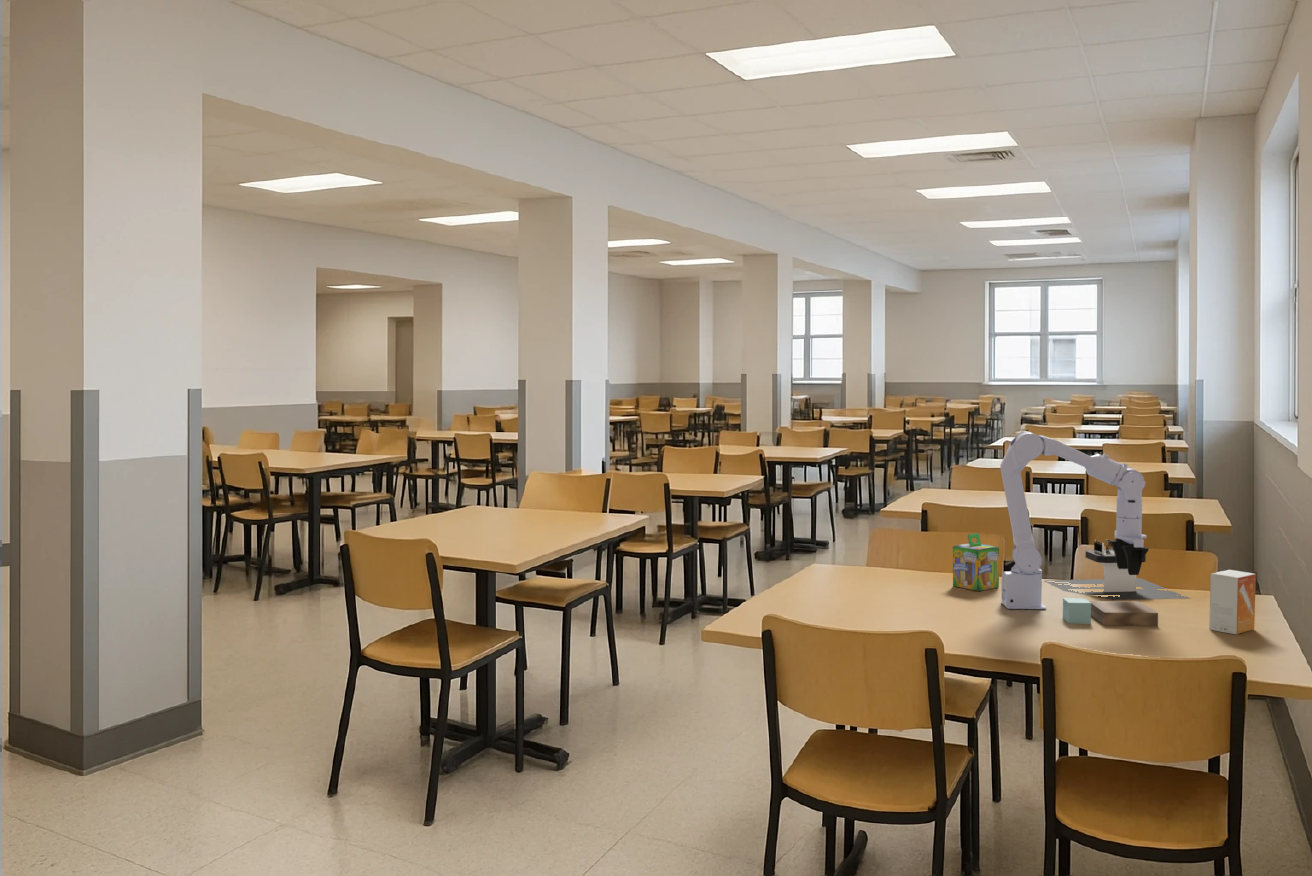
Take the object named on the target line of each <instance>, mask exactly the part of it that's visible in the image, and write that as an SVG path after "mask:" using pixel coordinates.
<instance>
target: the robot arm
mask: <svg viewBox="0 0 1312 876" xmlns="http://www.w3.org/2000/svg"><path fill="white" fill-rule="evenodd" d="M1040 455H1042V456H1048V457H1049V456H1057V457H1060V458H1061V459H1064V460H1067V461H1069V462H1072V463H1074V464H1077V465H1078V466H1081V467H1084V468H1085V472H1086V474H1087V475H1088V476H1090V477H1092V478H1095V479H1097V480H1100V481H1102V482H1104V483H1106V484H1108V485H1111V486H1116V488H1117V491H1116V493H1117V497H1116V514H1115V515H1116V518H1115V519H1116V520H1115V521H1116V522H1115V527H1116V528H1115V530H1114V535H1113V536H1114V539H1109V540H1110V541H1109V542H1110V547H1111V546H1112V547H1111V549H1113V550H1114V553H1115V557H1116V562H1117V566H1118V569H1127V568H1128V573H1129V575H1136V576H1139V575H1140V571H1141V569H1142V564H1143V562H1142V561H1143V559H1144V557H1145V555H1146V556H1147V553H1148V552H1149V547H1148V546H1144V543H1145V540H1144V539H1147V537H1148V536H1147V535H1146V534H1144V533H1143V532H1142V530H1143V528H1142V527H1143V524H1142V523H1143V499H1142V495H1143V489H1144V488H1145V486H1146V480H1145V478H1144V476H1143V474H1142V473H1141V472H1140V471H1138V470H1136V469H1134V468H1132V467H1131V466H1130V467H1129V464H1127V463H1125V462H1123V463H1120V462H1118V461H1116V460H1114V459H1111V458H1110V455H1108V454H1106V453H1102V454H1100V453H1096V454H1094V455H1088V454H1086V453H1084V452H1082V451H1081V450H1078V449H1076V448H1075V447H1072V446H1070V445H1067V444H1065V443H1063V442H1061V441H1059V440H1057V439H1055V438H1051V437H1048V436H1045V435H1041V434H1038V435H1037V434H1035V433H1033V432H1031V431H1028V430H1027V431H1022V432H1019V433H1018V434H1017V435H1016V436H1015V437H1013V439H1012V440H1011V441H1010V442H1009V444H1008V447H1007V449H1006V451H1005V454H1004V457H1003V459H1002V461H1001V463H1000V473H1001V479H1002V480H1001V481H1002V484H1003V485H1002V486H1003V488H1004V489H1003V490H1004V495H1005V500H1006V505H1007V511H1008V516H1009V521H1010V526H1011V532H1012V542H1013V549H1012V551H1011V555H1012V556H1011V557H1012V559H1013V561H1014V563H1015V564H1013V566H1012V567H1011V570H1010V571H1003V572H1002V573H1001V594H1000V595H1001V599H1000V602H1001V604H1002V605H1003V606H1004V607H1005V608H1006V609H1009V610H1011V609H1012V610H1019V609H1020V610H1046V609H1047V606H1045V605H1044V604H1043V603H1042V600H1043V599H1042V593H1043V592H1042V591H1043V589H1042V588H1043V587H1042V586H1043V585H1042V584H1043V583H1042V582H1043V578H1042V576H1043V574H1042V573H1043V572H1042V571H1043V570H1042V569H1041V566H1042V563H1043V562H1042V561H1043V558H1042V555H1041V554H1040V552H1039V551H1038V549H1037V547H1036V542H1035V539H1034V536H1033V531H1032V525H1031V521H1030V516H1029V511H1028V510H1029V509H1028V504H1027V498H1026V494H1025V489H1024V485H1023V479H1022V471H1023V470H1024V469H1025V468H1026V466H1027V465H1028V464H1029V463H1030V462H1032V461H1033V460H1035V459H1036V458H1038V457H1039V456H1040ZM1142 533H1143V534H1142Z"/></svg>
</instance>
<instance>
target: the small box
mask: <svg viewBox="0 0 1312 876" xmlns="http://www.w3.org/2000/svg"><path fill="white" fill-rule="evenodd" d="M1256 578H1257V573H1254V572H1247V571H1241V570H1235V569H1234V570H1233V569H1227V570H1221V571H1217V572H1213V573H1210V578H1209V580H1210V581H1209V583H1210V585H1209V587H1210V588H1209V622H1208V623H1209V628H1208V629H1209V630H1211V631H1216V632H1221V633H1226V634H1231V635H1240V634H1242V633H1247V632H1250V631H1255V622H1256V620H1255V619H1256V618H1255V617H1256V615H1255V613H1256V587H1257V586H1256V582H1257V579H1256Z"/></svg>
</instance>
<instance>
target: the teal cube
mask: <svg viewBox="0 0 1312 876" xmlns="http://www.w3.org/2000/svg"><path fill="white" fill-rule="evenodd" d="M1089 601H1090V600H1088V599H1086V598H1085V597H1084V598H1081V597H1080V598H1079V597H1077V598H1076V597H1074V598H1073V597H1071V598H1070V597H1068V598H1067V597H1063V598H1062V619H1063V620H1064V621H1065V622H1066V623H1068V624H1078V625H1079V624H1082V625H1085V624H1087V625H1088V624H1089V625H1090V624H1092V620H1091V619H1092V616H1091V603H1090V602H1089Z"/></svg>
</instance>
